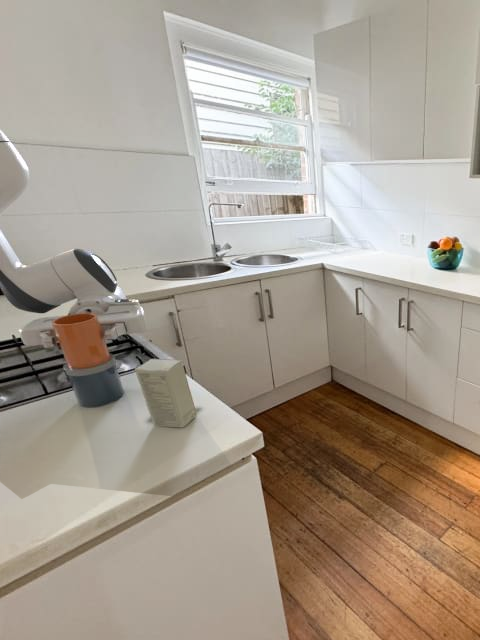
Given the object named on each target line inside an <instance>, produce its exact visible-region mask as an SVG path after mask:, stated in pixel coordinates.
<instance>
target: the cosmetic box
mask: <svg viewBox="0 0 480 640" xmlns="http://www.w3.org/2000/svg"><path fill="white" fill-rule="evenodd" d="M134 371H135V375H136V377H137V380H138V383H139V387H140V389H141V392H142V395H143V398H144V400H145V405H146V406H147V410H148V412H149V415H150V419H151V421H152V424H153V426H155V427H167V428H185V427H186V426H187V425H188V424H189V423H190V422H191V421H193V419H194V418H195V417H197V416H198V413H197V410H196V406H195V403H194V400H193V395H192V391H191V388H190V385H189V382H188V377H187V374H186V369H185V367H184V363H183V360H182V359H168V358H167V359H166V358H165V359H164V358H150V359H148V360H147V361H145V362H144V363H142V364H140V365H139V366H137V367H135V368H134Z"/></svg>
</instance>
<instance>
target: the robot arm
mask: <svg viewBox="0 0 480 640" xmlns="http://www.w3.org/2000/svg"><path fill="white" fill-rule="evenodd" d="M29 182H30V169H29V167H28V165H27V163H26V161H25V160H24V159H23V157H22V155H21V154H20V152H19V151H18V150H17V149H16V147H15V145H14V144H13V142H11V140H9V138H8V136H7V135H6V134H5V133H4V131H2V129H1V128H0V218H1V217H2V215H3V214H4V212H5V211H6V210H7V209H8V208H9V207H10V206H11V205H12V204H13V203H14V202H15V201H17V200H18V199H19V198H20V197H21V196H22V195H23V194H24V192H25V191H26V190H27V187H28V185H29ZM0 289H1V292H2V293H3V295H4V296H5V298H6V299H7V301H8V302H9V303H10V304H11V305H12V306H13V307H15V308H16V309H18V310H21V311H24V312H28V313H32V314H33V313H34V314H46V313H48V312H50V311H52V310H54V309H57V308H59V307H60V306H61V305H64V304H66V303H68V302H71V301H74V300H76V299H77V300H76V302H75V303H74V304H73V305H72V306H71V307H70V309H69V310H68V312H67V314H66V315H65V314H64V315H56V316H47V317H39V318H36V319H33V320H31V321H30V322H27V323H26V324H24V325H22V326H21V327H20V328H19V329H18V334H19V337H20V339H21V342H22V344H24V346H26V347H37V346H43V348H44V349H50V348H56V346H57V345H58V344H59V341H58V339H57V336H56V333H55V331H54V328H53V325H52V321H53V320H55V319H57V318H60V317H63V316H67V315H72V314H79V313H93V314H96V315H97V317H98V320H99V323H100V326H101V329H102V333H103V336H104V338H105V340H106V341H112V340H117V339H118V337H121V336H123V335H124V336H125V335H132V334H139V333H144V332H146V331H148V329H149V326H148V323H147V322H148V321H147V318H146V315H145V311H144V309H143V307H142V306H141V304H140V301H139V300H138V299H131V298H129V299H128V298H127V295H126V293H125V292H124V291H123V289H122V288H121V287H119V286H118V279H117V277H116V276H115V273H114V272H113V270H112V269H111V267H110V266H109V265H108V264H107V263H106V261H104V259H102V258H101V257H100V256H99V255H97V254H95V253H93V252H90V251H89V250H85V249H83V248H73V249H70V250H67V251H64V252H61V253H58V254H56V255H53V256H51V257H49V258H46V259H43V260H40V261H37V262H35V263H32V264H28V265H24V264H23V263H22V262H21V261H20V259H19V257H18V256H17V254H16V252H15V251H14V249H13V248H12V246H11V245H10V243H9V242H8V240H7V238H6V236H5V234H4V232H2V229H1V228H0Z"/></svg>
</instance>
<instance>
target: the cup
mask: <svg viewBox="0 0 480 640" xmlns="http://www.w3.org/2000/svg"><path fill="white" fill-rule="evenodd" d="M66 315H67V316H65V315H62V316H63V317H60V318H57V319H55V320H53V321H52V325H53V328H54V331H55V333H56V336H57V339H58V341H59V343H58V344H59V347H60V349H61V352H62V354H63V357H64V360H65V363H67V364H68V366H69V367H70V368H74V369H81V368H89V367H93V366H97V365H100V364H102V363H104V362H106V361H108V360H109V359H110V354H111V353H110V352H109V348H108V345H107V342H106V338H105V337H104V336H103V333H102V329H101V326H100V323H99V320H98V317H97V315H96V314H93V313H79V314H72V315H68V314H66ZM109 353H110V354H109Z"/></svg>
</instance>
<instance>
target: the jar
mask: <svg viewBox="0 0 480 640" xmlns="http://www.w3.org/2000/svg"><path fill="white" fill-rule="evenodd" d="M109 354H110V359H109V360H108V361H106V362H104V363H102V364H100V365H97V366H93V367H89V368H81V369H74V368H70V367H69V366H68V364H67V362H65V363H64V364H63V366H62V368H63V371H64V374H66V375H67V378H68V380H69V383H70V385H71V388H72V391H73V393H74V396H75V398H76V402H77V403H78V405H79V406H80V407H82V408H97V407H102V406H105V405H108V404H112V403H113V402H115V401H117V400H119V399H121V398H122V397H123V396H124V395H125V389H124V386H123V383H122V380H121V377H120V373H119V371H118V368H117V365H116V363H117V361H116V357H115V355H114V354H113V353H111V352H109Z"/></svg>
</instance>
